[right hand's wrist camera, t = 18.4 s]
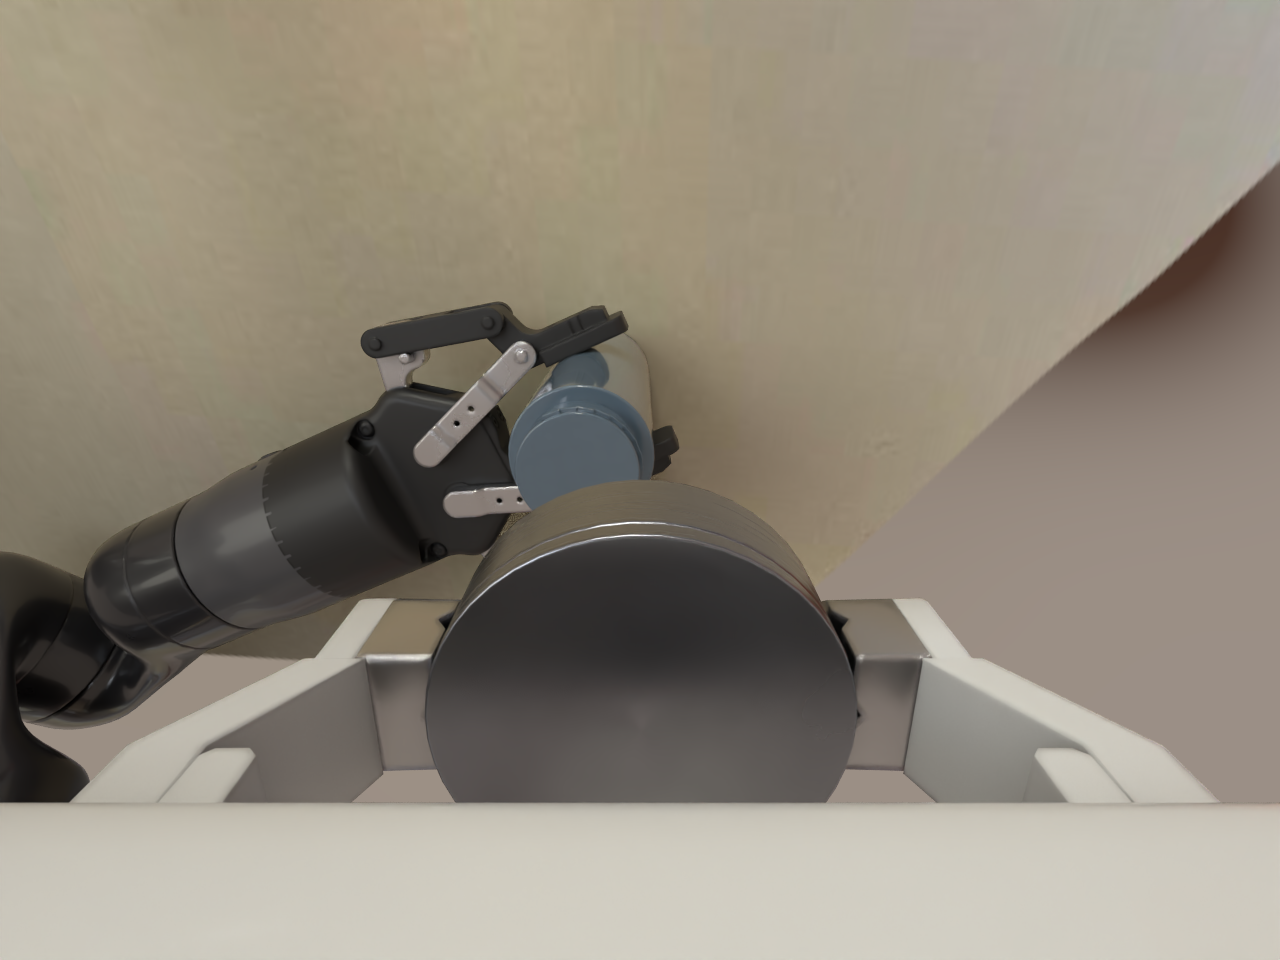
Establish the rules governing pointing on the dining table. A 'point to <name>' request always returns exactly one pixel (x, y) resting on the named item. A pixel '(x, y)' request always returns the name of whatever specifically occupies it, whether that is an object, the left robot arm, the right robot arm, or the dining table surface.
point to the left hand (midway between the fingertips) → (648, 380)
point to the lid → (640, 660)
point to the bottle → (585, 424)
